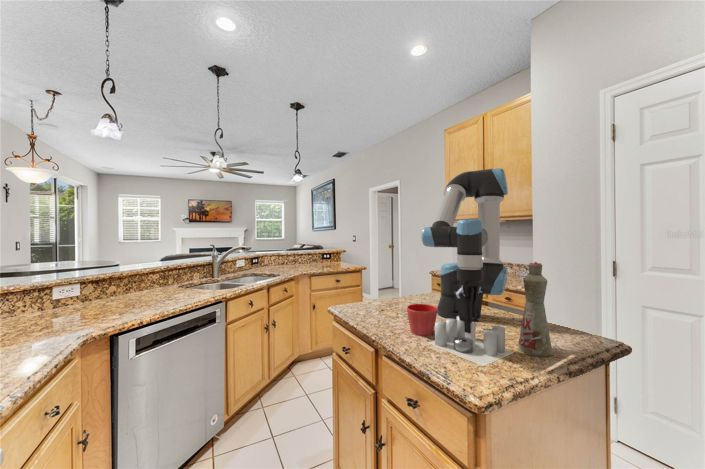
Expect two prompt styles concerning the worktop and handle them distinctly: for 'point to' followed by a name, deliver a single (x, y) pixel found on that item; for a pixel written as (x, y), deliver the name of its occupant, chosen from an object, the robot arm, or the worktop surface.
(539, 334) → the bottle
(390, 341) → the worktop surface
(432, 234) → the robot arm
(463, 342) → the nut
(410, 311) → the flower pot
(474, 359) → the board
